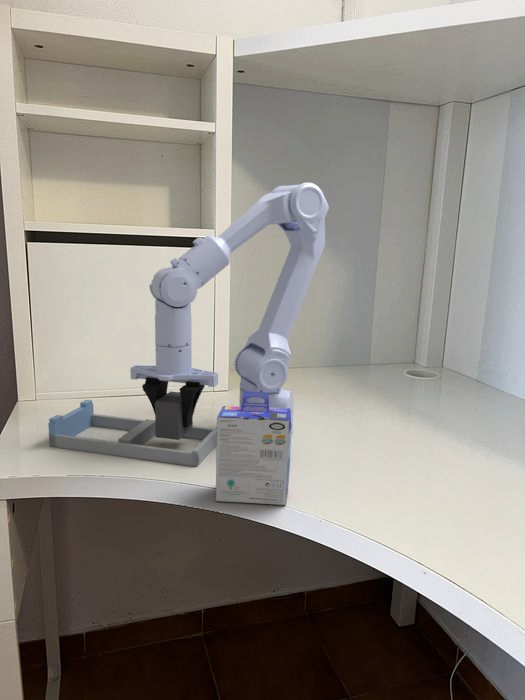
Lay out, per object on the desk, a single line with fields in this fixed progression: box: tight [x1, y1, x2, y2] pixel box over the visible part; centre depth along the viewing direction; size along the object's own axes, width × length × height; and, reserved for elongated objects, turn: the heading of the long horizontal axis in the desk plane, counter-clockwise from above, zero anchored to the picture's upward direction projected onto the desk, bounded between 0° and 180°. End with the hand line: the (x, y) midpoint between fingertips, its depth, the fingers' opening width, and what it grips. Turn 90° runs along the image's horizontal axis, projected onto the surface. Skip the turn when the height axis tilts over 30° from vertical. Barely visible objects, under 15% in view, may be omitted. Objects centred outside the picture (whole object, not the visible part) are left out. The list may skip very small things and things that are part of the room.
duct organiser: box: [48, 399, 217, 468], centre depth 93 cm, size 26×12×5 cm, turn 75°
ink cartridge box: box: [215, 391, 292, 506], centre depth 75 cm, size 10×6×14 cm, turn 86°
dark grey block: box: [154, 391, 194, 441], centre depth 90 cm, size 4×6×6 cm, turn 166°
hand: (174, 424), depth 91 cm, fingers closed on dark grey block, 4 cm apart
